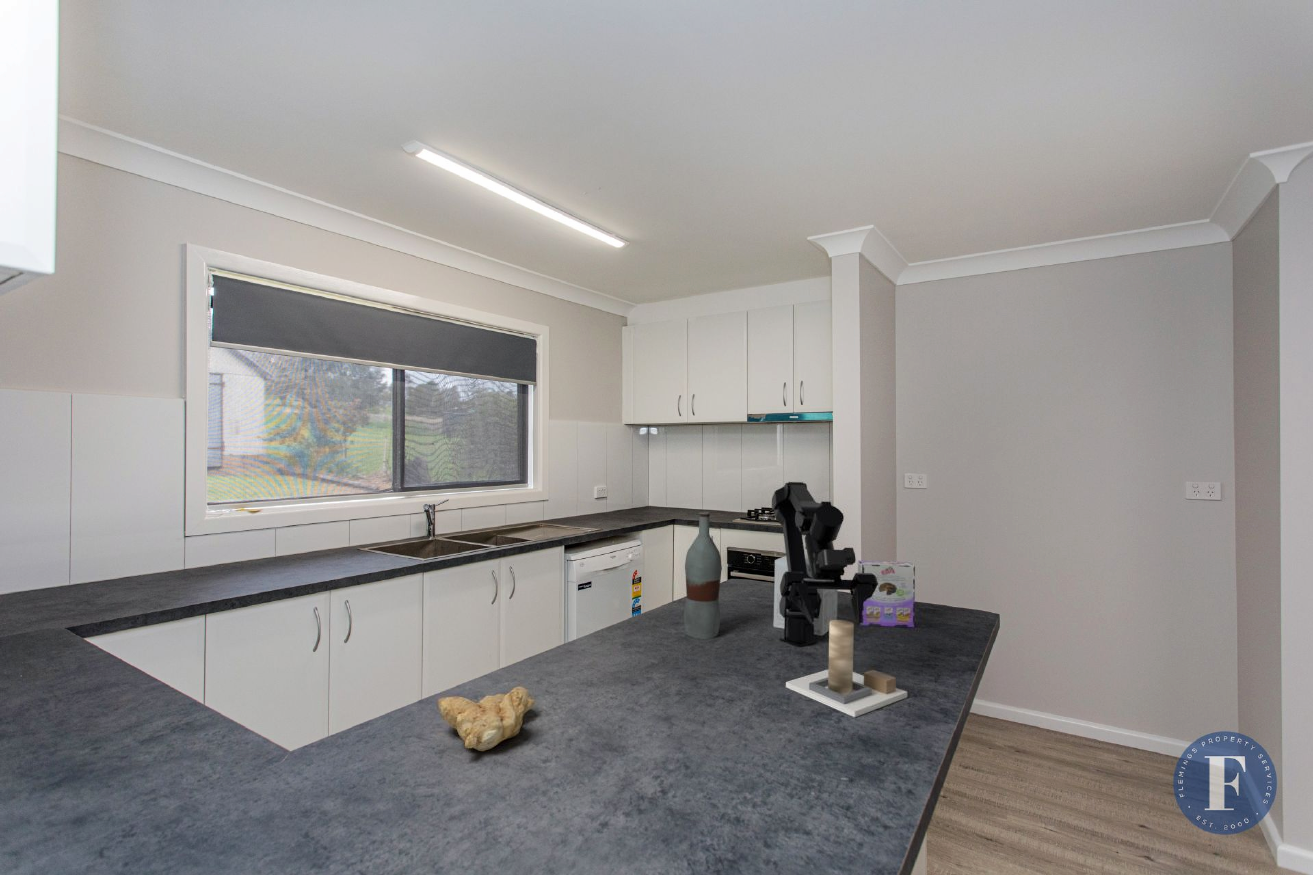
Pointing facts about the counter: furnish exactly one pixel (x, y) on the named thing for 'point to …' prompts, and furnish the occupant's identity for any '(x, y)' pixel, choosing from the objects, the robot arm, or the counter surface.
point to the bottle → (702, 584)
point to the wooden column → (840, 656)
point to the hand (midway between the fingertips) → (836, 622)
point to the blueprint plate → (865, 691)
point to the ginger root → (486, 717)
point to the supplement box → (828, 597)
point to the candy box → (890, 594)
